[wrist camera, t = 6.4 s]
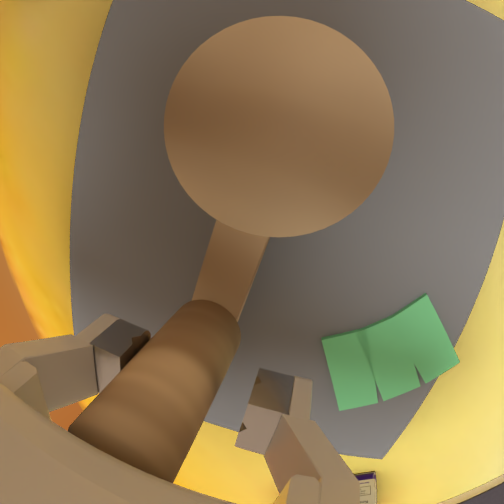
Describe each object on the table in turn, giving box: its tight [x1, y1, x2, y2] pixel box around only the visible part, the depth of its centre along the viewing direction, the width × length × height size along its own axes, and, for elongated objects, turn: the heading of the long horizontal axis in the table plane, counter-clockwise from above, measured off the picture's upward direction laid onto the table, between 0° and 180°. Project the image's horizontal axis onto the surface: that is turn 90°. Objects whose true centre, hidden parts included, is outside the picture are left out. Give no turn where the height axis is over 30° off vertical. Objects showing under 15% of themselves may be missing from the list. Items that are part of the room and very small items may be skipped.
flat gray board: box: [70, 0, 504, 459], centre depth 12 cm, size 22×19×2 cm
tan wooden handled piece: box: [68, 16, 394, 483], centre depth 8 cm, size 14×6×8 cm, turn 160°
